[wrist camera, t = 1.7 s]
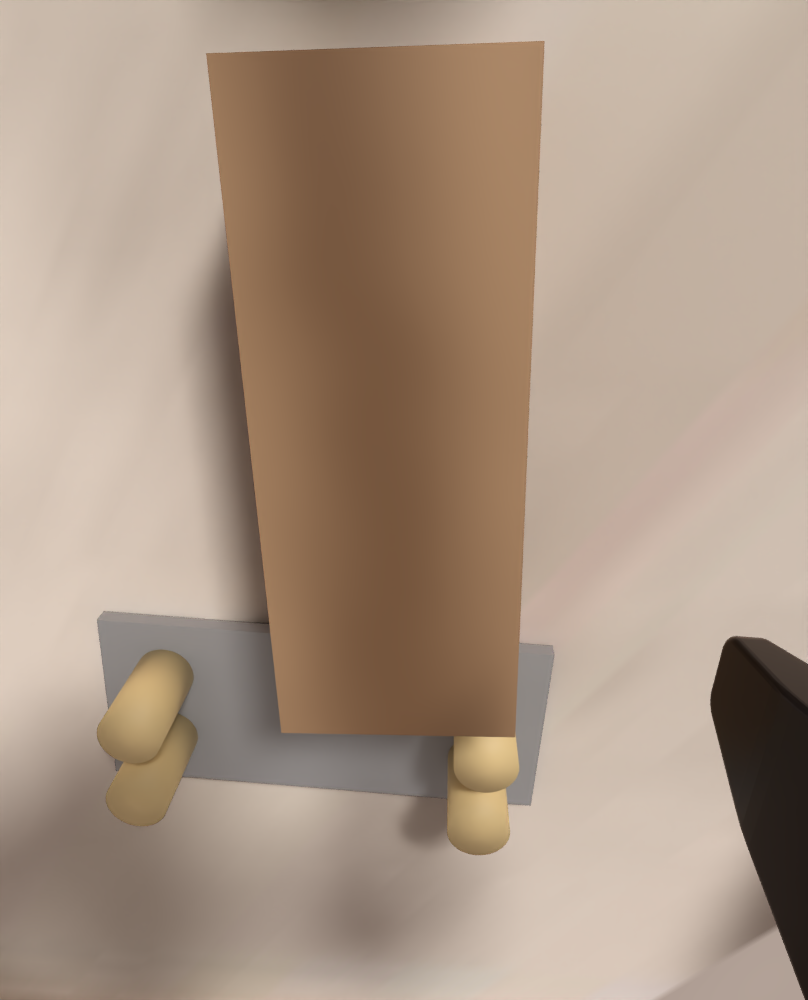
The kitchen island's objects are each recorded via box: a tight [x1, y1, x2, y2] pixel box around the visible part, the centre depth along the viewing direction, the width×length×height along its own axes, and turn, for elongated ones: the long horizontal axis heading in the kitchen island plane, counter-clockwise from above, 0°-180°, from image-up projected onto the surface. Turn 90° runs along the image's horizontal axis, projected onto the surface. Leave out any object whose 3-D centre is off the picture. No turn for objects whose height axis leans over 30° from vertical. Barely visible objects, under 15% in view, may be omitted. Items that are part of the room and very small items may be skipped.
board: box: [206, 41, 544, 737], centre depth 18 cm, size 6×14×6 cm, turn 1°
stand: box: [97, 611, 554, 855], centre depth 23 cm, size 14×6×4 cm, turn 87°
